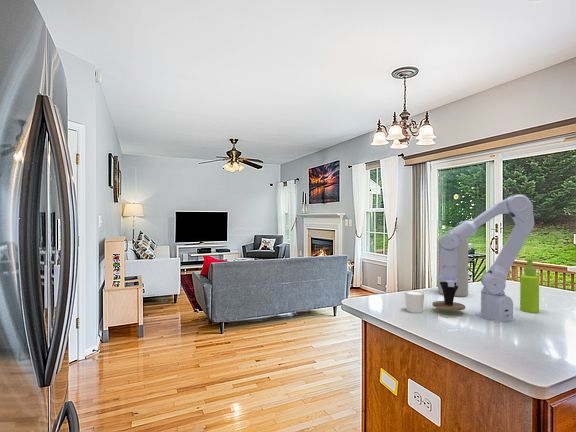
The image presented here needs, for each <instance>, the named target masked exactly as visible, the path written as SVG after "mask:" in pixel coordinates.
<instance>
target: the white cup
mask: <svg viewBox="0 0 576 432" xmlns="http://www.w3.org/2000/svg"><path fill="white" fill-rule="evenodd" d="M404 298H405V310H406V311H407V312H410V313H413V314H414V313H415V314H416V313H417V314H418V313H422V312H423V309H424V301H425V300H424V299H425V293H424V292H420V291H414V290H413V291H412V290H409V291H405V292H404Z"/></svg>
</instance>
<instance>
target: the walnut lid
mask: <svg viewBox="0 0 576 432" xmlns="http://www.w3.org/2000/svg"><path fill="white" fill-rule="evenodd" d="M431 304H432V307H433V308H440V309H445V310H461V311H464V310H466V305H464V304H463V303H459V302H455V301H453V304H446V302H445V297H444V296H443V300H435V301H433V302H432V303H431Z"/></svg>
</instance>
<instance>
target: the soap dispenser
mask: <svg viewBox="0 0 576 432" xmlns="http://www.w3.org/2000/svg"><path fill="white" fill-rule="evenodd" d="M524 261H526V266H524V267H523V268H524V271H523V273H524V274H522V275H520V278H519V281H520V283H519V285H520V286H519V287H520V288H519V292H520V293H519V294H520V295H519V299H520V301H519V302H520V303H519V310H520V311H522V312H525V313H531V314H538V313H540V276H536V267H534V266H533V264H534V263H533V262H534V261H538V262H543V260H542V259H539V258H531V257H530V258H529V257H528V258H524Z"/></svg>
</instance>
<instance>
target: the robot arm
mask: <svg viewBox="0 0 576 432" xmlns="http://www.w3.org/2000/svg"><path fill="white" fill-rule="evenodd" d="M533 209H534V205H533V203H532V202H531V200H530V198H529V197H528V196H527V195H524V194H515V195H510V196H508V197H506V198H505V199H503V200H500V201H498V202H497V203H495V204H493V205H491V206H490V207H488V209H486V210H485V211H483V212H482V213H480V214H479V215H478V216H476V217H475V218H474V219H472V220H467V219H466V220H464V221H463V220H461V221H460V222H459V223H458V224H457V226H455V227H453V228H452V229H448V230H447V232H448V233H445V234H442V236H440V244H441V246H442V247H441V249H440V251H441V253H440V277H438V276H436V280H437V281H438V280H442V281H444V282H439V283H440V285H441V287H442V290H443V295H442V296H443V298H444V297H445V302H446V304H453V302H454V299H455V297H454V296H455V293H456V290H457V289H458V286H455V285H456V282H457V281H458V278H457V253H456V247H457V246H458V243H462V242H463V241H465V240H468V239H469V238H471V237H473V236H474V235H475V234H478V233H477V231H478V228H480V227H482V225H484V224H486V223H487V222H489V221H491V220H492V219H494V218H495V217H497V216H500V215H505V214H509V215H510V217H511V218H512V220H513V222H514V224H515V225H514V227H513V229H512V230H511V232H510V234H509V236H508V237H507V239H506V240H505V243H504V245H503V247H501V250H500V251H499V253H498V256H497V257H496V258H495V260H494V263H493V264H491V266H490V267H489V269H488V270H487V271H486V272H484V273H483V274H482V275H481V277H480V282H481V284H482V286H483V287H482V288H481V290H480V312H478V313H477V312H476V313H474V316H478V317H481V318H484V319H487V320H489V321H492V322H495V323H505V322H514V321H515V320H516V319H515V318H514V302H513V299H512V298H511V297H510V296H508V295H506V293H505V290H506V282H507V279H508V276H509V271H510V270H511V267H512V266H513V264H514V262H515V260H516V258H517V257H518V255H519V253H520V251H521V249H522V248H523V246H524V245H525V243H526V241H527V239H528V237H529V235H531V232H532V230H533V228H534V226H535V216H534V210H533Z"/></svg>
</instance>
